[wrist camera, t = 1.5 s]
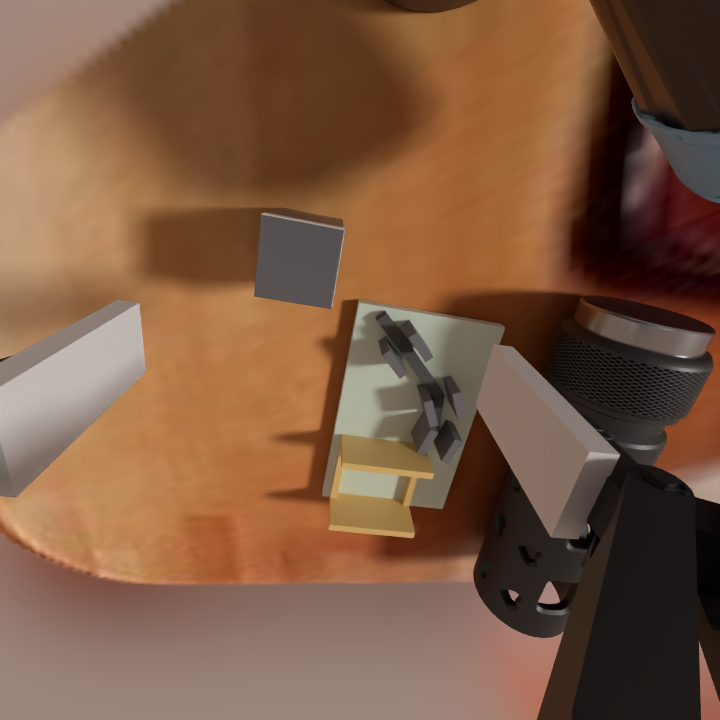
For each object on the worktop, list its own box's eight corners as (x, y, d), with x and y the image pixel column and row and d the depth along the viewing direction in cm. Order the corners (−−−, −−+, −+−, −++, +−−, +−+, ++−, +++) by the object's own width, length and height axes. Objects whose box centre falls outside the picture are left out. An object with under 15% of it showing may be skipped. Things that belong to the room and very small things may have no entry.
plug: (279, 206, 29) (260, 213, 21) (343, 219, 29) (345, 230, 22) (273, 270, 30) (253, 297, 23) (333, 280, 31) (331, 310, 24)
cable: (373, 314, 31) (374, 317, 30) (413, 300, 31) (415, 303, 30) (419, 440, 36) (421, 446, 35) (453, 429, 36) (456, 435, 35)
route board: (358, 299, 32) (361, 314, 28) (500, 323, 33) (521, 340, 29) (322, 488, 39) (320, 520, 35) (440, 501, 40) (450, 533, 37)
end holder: (341, 434, 35) (342, 462, 32) (424, 444, 36) (434, 473, 33) (329, 496, 38) (328, 529, 34) (406, 505, 39) (413, 538, 35)
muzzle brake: (456, 540, 43) (490, 640, 33) (541, 283, 32) (626, 324, 23) (539, 545, 44) (595, 644, 34) (648, 299, 33) (774, 344, 24)
